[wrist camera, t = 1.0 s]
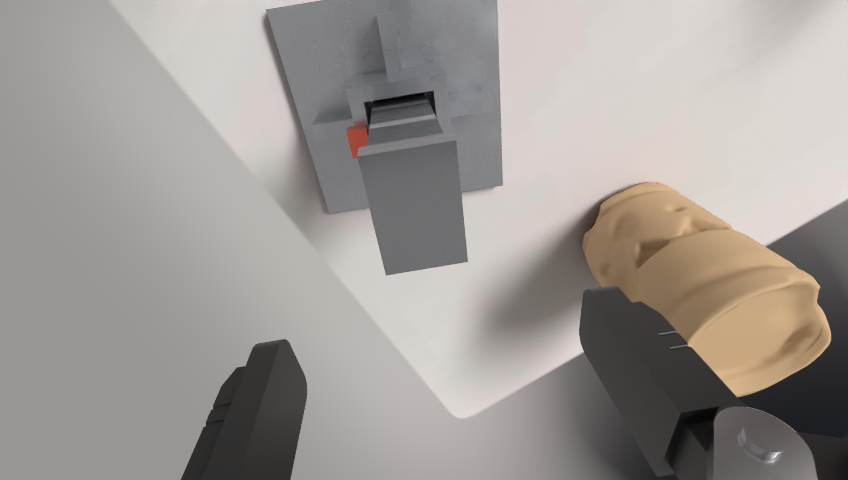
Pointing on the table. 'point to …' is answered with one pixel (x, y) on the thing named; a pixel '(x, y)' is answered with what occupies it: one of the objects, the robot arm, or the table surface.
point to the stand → (391, 80)
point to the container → (709, 285)
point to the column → (413, 186)
